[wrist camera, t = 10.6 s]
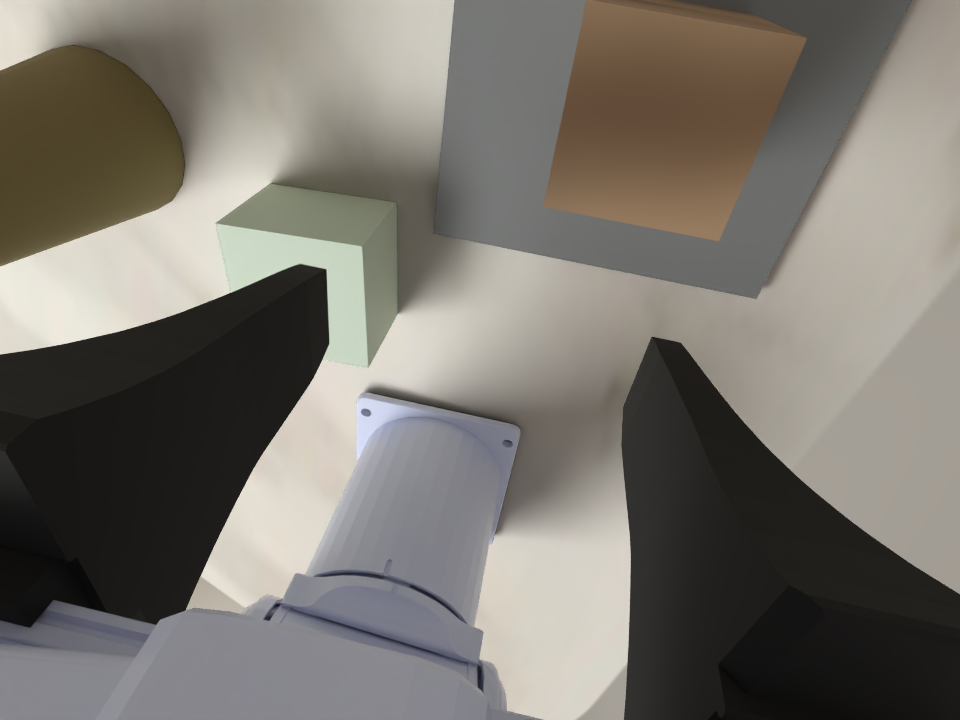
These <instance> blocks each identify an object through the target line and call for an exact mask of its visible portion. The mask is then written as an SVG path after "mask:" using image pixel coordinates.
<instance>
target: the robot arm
mask: <svg viewBox="0 0 960 720" xmlns="http://www.w3.org/2000/svg"><path fill="white" fill-rule="evenodd" d="M328 346H329V318H328V293H327V269H323V268H318V267H314V266H309V265H304V264H298V265H295V266H292V267H289V268H287V269H284V270H282V271H279V272H277V273H275V274H272V275H270V276H268V277H266V278H263V279H261V280H259V281H257V282H254V283H252V284H250V285H248V286H245V287H243V288H241V289H238V290H236V291H234V292H232V293H229V294H227V295H225V296H222V297H220V298H217V299H215V300H212V301H209V302H207V303H204V304H202V305H199V306H197V307H194V308H191V309H189V310H186V311H184V312H181V313H178V314H176V315H173V316H170V317H167V318H164V319H161V320H158V321H155V322H151V323H148V324H144V325H141V326H138V327H134V328H131V329H127V330H124V331H120V332H116V333H112V334H107V335H103V336H98V337H94V338H90V339H85V340H81V341H76V342H72V343H68V344H63V345H57V346H52V347H46V348H40V349H35V350H29V351H22V352H15V353H9V354H2V355H0V720H542V719H538V718H534V717H530V716H526V715H522V714H517V713H513V712H509V711H507V702H506V694H505V690H504V687H503V685H502V683H501V681H500V679H499V676H498V672H497V669H496V667H495V666H494V664H492V663H490V662H487V661H483V660H480V659H479V657H480V651H481V644H482V638H483V631H482V630H480V629H477V628H475V627H474V625H475V619H476V614H477V608H478V603H479V597H480V592H481V586H482V580H483V575H484V569H485V564H486V558H487V553H488V547H489V545H490V544H492V542H493V539H494V536H495V532H496V528H497V524H498V520H499V516H500V512H501V508H502V505H503V501H504V497H505V493H506V489H507V485H508V481H509V477H510V474H511V470H512V466H513V462H514V458H515V454H516V450H517V446H518V443H519V439H520V429H519V428H518V427H517V426H516V425H513V424H509V423H505V422H500V421H495V420H491V419H486V418H482V417H477V416H473V415H468V414H463V413H459V412H454V411H450V410H445V409H440V408H436V407H431V406H427V405H422V404H418V403H413V402H408V401H404V400H399V399H395V398H390V397H386V396H381V395H376V394H372V393H362V394H361V395H359V397H358V399H357V463H356V466H355V468H354V470H353V472H352V474H351V476H350V479H349V481H348V483H347V485H346V487H345V489H344V491H343V494H342V496H341V498H340V500H339V502H338V504H337V507H336V509H335V511H334V513H333V515H332V517H331V520H330V522H329V524H328V526H327V528H326V530H325V533H324V535H323V537H322V539H321V541H320V543H319V545H318V548H317V550H316V552H315V554H314V556H313V558H312V561H311V563H310V565H309V567H308V569H307V571H306V574H305V575H303V574H299V573H296V574H295V575H294V577H293V579H292V581H291V583H290V585H289V587H288V589H287V591H286V593H285V595H284V597H283V599H281V598H278V597H275V596H272V595H266V596H264V597H262V598H260V599H259V600H258V601H257V602H255V603H254V604H252V605H250V606H248V607H246V608H245V609H243V610H242V611H241V612H240V613H239V614H238V613H234V612H229V611H219V610H210V609H200V608H192V609H190V610H187V611H185V610H186V608H187V605H188V603H189V601H190V598H191V596H192V594H193V591H194V589H195V587H196V584H197V582H198V580H199V578H200V576H201V574H202V572H203V569H204V567H205V565H206V563H207V561H208V558H209V556H210V554H211V552H212V550H213V547H214V545H215V543H216V541H217V539H218V537H219V535H220V533H221V531H222V529H223V527H224V525H225V523H226V521H227V519H228V517H229V515H230V513H231V511H232V509H233V507H234V505H235V503H236V501H237V499H238V497H239V495H240V493H241V491H242V489H243V487H244V486H245V484H246V482H247V480H248V478H249V476H250V474H251V472H252V470H253V468H254V467H255V465H256V464H257V462H258V460H259V459H260V457H261V455H262V454H263V452H264V451H265V449H266V448H267V446H268V445H269V443H270V442H271V440H272V439H273V437H274V436H275V435H276V433H277V432H278V430H279V429H280V427H281V426H282V424H283V423H284V421H285V420H286V418H287V417H288V415H289V414H290V413H291V411H292V410H293V408H294V407H295V405H296V404H297V402H298V401H299V399H300V398H301V396H302V395H303V393H304V392H305V390H306V389H307V387H308V386H309V384H310V383H311V381H312V379H313V378H314V376H315V374H316V372H317V370H318V368H319V366H320V364H321V361H322V359H323V357H324V355H325V353H326V350H327V348H328ZM365 409H368V410H370V411H367V410H365ZM505 440H510V441H511V442H507V441H505ZM622 458H623V469H624V479H625V490H626V500H627V510H628V520H629V530H630V546H631V586H630V622H629V648H628V666H627V686H626V701H625V714H624V715H625V716H624V720H960V594H958V593H957V592H955V591H954V590H952V589H950V588H948V587H947V586H945V585H944V584H942V583H941V582H939V581H937V580H936V579H934V578H933V577H931V576H929V575H928V574H926V573H925V572H923V571H921V570H920V569H918V568H916V567H915V566H913V565H912V564H910V563H909V562H907V561H906V560H904V559H903V558H901V557H900V556H899V555H897V554H896V553H894V552H893V551H891V550H890V549H889V548H887V547H886V546H884V545H883V544H881V543H880V542H879V541H877V540H876V539H874V538H873V537H871V536H870V535H869V534H867V533H866V532H864V531H863V530H862V529H860V528H859V527H858V526H857V525H855V524H854V523H852V522H851V521H850V520H849V519H847V518H846V517H845V516H844V515H842V514H841V513H839V511H837V510H836V509H835V508H834V507H832V506H831V505H830V504H829V503H827V502H826V501H825V500H824V499H822V498H821V497H820V496H819V495H818V494H816V493H815V492H814V491H813V490H812V489H811V488H809V487H808V486H807V485H806V484H805V483H804V482H802V481H801V480H800V479H799V478H798V477H797V476H796V475H795V474H794V473H793V472H792V471H791V470H790V469H789V468H787V467H786V466H785V465H784V464H783V463H782V462H781V461H780V460H779V459H778V458H777V457H776V456H775V455H774V454H773V453H772V452H771V451H770V450H769V449H768V448H767V447H766V446H765V445H764V444H763V443H762V442H761V441H760V440H759V439H758V438H757V436H756V435H755V434H754V433H753V432H752V431H751V430H750V429H749V428H748V426H747V425H746V424H745V423H744V422H743V421H742V420H741V419H740V417H739V416H738V415H737V414H736V413H735V412H734V410H733V409H732V408H731V407H730V406H729V404H728V403H727V402H726V401H725V399H724V398H723V397H722V396H721V394H720V393H719V392H718V391H717V389H716V388H715V387H714V385H713V384H712V383H711V382H710V380H709V379H708V378H707V376H706V375H705V374H704V372H703V371H702V370H701V368H700V367H699V366H698V364H697V363H696V362H695V360H694V359H693V358H692V356H691V355H690V354H689V353H688V351H687V350H686V349H685V348H684V346H683V345H682V344H681V343H679V342H675V341H670V340H665V339H660V338H655V337H652V338H651V340H650V343H649V345H648V347H647V350H646V352H645V355H644V357H643V360H642V362H641V365H640V367H639V370H638V372H637V375H636V377H635V380H634V382H633V385H632V387H631V390H630V392H629V394H628V397H627V399H626V402H625V404H624V407H623V423H622Z"/></svg>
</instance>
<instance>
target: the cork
mask: <svg viewBox="0 0 960 720" xmlns="http://www.w3.org/2000/svg"><path fill="white" fill-rule="evenodd" d="M184 167H185V162H184V156H183V150H182V145H181V139H180V137H179V135H178V132H177V130H176V128H175V126H174V123H173V121H172V119H171V117H170V114H169V112H168V111H167V110H166V108H165V107H164V106H163V104H162V103H161V102H160V100H159V99H158V97H157V96H156V95H155V93H154V92H153V91H152V89H151V88H150V87H149V86H148V85H147V84H146V83H145V82H144V81H143V80H142V79H140V78H139V77H138V76H137V75H136V74H135V73H134V72H133V71H132V70H130V69H129V68H128V67H127V66H126V65H124V64H122V63H121V62H119V61H117V60H115V59H113V58H112V57H110V56H108V55H106V54H104V53H102V52H101V51H98V50H94V49H89V48H84V47H80V46H75V45H72V46H66V47H61V48H56V49H51V50H49V51H46V52H44V53H42V54H39V55H37V56H34V57H32V58H30V59H27V60H25V61H23V62H20V63H18V64H15V65H13V66H11V67H8V68H6V69H4V70H1V71H0V266H3V265H5V264H8V263H11V262H14V261H16V260H19V259H22V258H25V257H27V256H30V255H33V254H36V253H38V252H41V251H44V250H47V249H50V248H52V247H55V246H58V245H61V244H63V243H66V242H69V241H72V240H74V239H77V238H80V237H83V236H85V235H88V234H91V233H94V232H96V231H99V230H102V229H105V228H107V227H110V226H113V225H116V224H119V223H121V222H124V221H127V220H130V219H132V218H135V217H138V216H141V215H143V214H146V213H149V212H152V211H154V210H157V209H159V208H160V207H162V206H164V205H166V204H167V203H169V202H171V201H172V200H173V198H174V197H175V195H176V194H177V192H178V191H179V189H180V187H181V186H182V180H183V174H184Z"/></svg>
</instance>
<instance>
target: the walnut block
mask: <svg viewBox="0 0 960 720" xmlns="http://www.w3.org/2000/svg"><path fill="white" fill-rule="evenodd" d="M806 40H807V38H806V37H804V36H802V35H799V34H797V33H795V32H793V31H790V30H788V29H786V28H783V27H781V26H779V25H777V24H774V23H772V22H770V21H767V20H765V19H763V18H761V17H758V16H756V15H754V14H750V13H744V12H739V11H733V10H727V9H721V8H716V7H710V6H704V5H698V4H692V3H687V2H681V1H675V0H586V5H585V9H584V14H583V19H582V23H581V28H580V33H579V38H578V42H577V47H576V52H575V56H574V61H573V66H572V71H571V75H570V80H569V85H568V89H567V94H566V99H565V104H564V108H563V113H562V118H561V123H560V127H559V132H558V137H557V141H556V146H555V151H554V156H553V161H552V166H551V170H550V175H549V180H548V185H547V190H546V195H545V200H544V205H543V207H546V208H551V209H556V210H561V211H566V212H571V213H576V214H582V215H587V216H592V217H597V218H602V219H607V220H612V221H617V222H623V223H628V224H633V225H638V226H643V227H648V228H653V229H659V230H664V231H669V232H674V233H679V234H684V235H689V236H694V237H700V238H705V239H710V240H715V241H719V240H720V238H721V235H722V233H723V231H724V228H725V226H726V224H727V222H728V219H729V217H730V215H731V212H732V210H733V208H734V205H735V203H736V201H737V199H738V196H739V194H740V192H741V189H742V187H743V185H744V182H745V180H746V178H747V176H748V173H749V171H750V169H751V166H752V164H753V162H754V159H755V157H756V155H757V153H758V150H759V148H760V146H761V143H762V141H763V139H764V136H765V134H766V132H767V130H768V127H769V125H770V123H771V120H772V118H773V116H774V114H775V111H776V109H777V107H778V104H779V102H780V100H781V97H782V95H783V93H784V91H785V88H786V86H787V84H788V81H789V79H790V77H791V74H792V72H793V70H794V68H795V65H796V63H797V61H798V58H799V56H800V54H801V51H802V49H803V47H804V45H805V42H806Z"/></svg>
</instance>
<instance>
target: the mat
mask: <svg viewBox="0 0 960 720" xmlns="http://www.w3.org/2000/svg"><path fill="white" fill-rule="evenodd" d="M675 1H681V2H687V3H692V4H698V5H704V6H710V7H716V8H721V9H727V10H733V11H739V12H744V13H750V14H754V15H756V16H758V17H761V18H763V19H765V20H767V21H770V22H772V23H774V24H777V25H779V26H781V27H783V28H786V29H788V30H790V31H793V32H795V33H797V34H799V35H802V36H804V37H806V38H807V40H806V42H805V45H804V47H803V49H802V51H801V54H800V56H799V58H798V61H797V63H796V65H795V68H794V70H793V72H792V74H791V77H790V79H789V81H788V84H787V86H786V88H785V91H784V93H783V95H782V97H781V100H780V102H779V104H778V107H777V109H776V111H775V114H774V116H773V118H772V120H771V123H770V125H769V127H768V130H767V132H766V134H765V136H764V139H763V141H762V143H761V146H760V148H759V150H758V153H757V155H756V157H755V159H754V162H753V164H752V166H751V169H750V171H749V173H748V176H747V178H746V180H745V182H744V185H743V187H742V189H741V192H740V194H739V196H738V199H737V201H736V203H735V205H734V208H733V210H732V212H731V215H730V217H729V219H728V222H727V224H726V226H725V228H724V231H723V233H722V235H721V238H720V240H719V241H715V240H710V239H705V238H700V237H694V236H689V235H684V234H679V233H674V232H669V231H664V230H659V229H653V228H648V227H643V226H638V225H633V224H628V223H623V222H617V221H612V220H607V219H602V218H597V217H592V216H587V215H582V214H576V213H571V212H566V211H561V210H556V209H551V208H546V207H543V205H544V200H545V195H546V190H547V185H548V180H549V175H550V170H551V166H552V161H553V156H554V151H555V146H556V141H557V137H558V132H559V127H560V123H561V118H562V113H563V108H564V104H565V99H566V94H567V89H568V85H569V80H570V75H571V71H572V66H573V61H574V56H575V52H576V47H577V42H578V38H579V33H580V28H581V23H582V19H583V14H584V9H585V5H586V0H455V2H454V13H453V24H452V35H451V46H450V57H449V68H448V79H447V90H446V101H445V112H444V123H443V134H442V145H441V156H440V167H439V178H438V189H437V200H436V211H435V222H434V234H439V235H444V236H449V237H454V238H459V239H464V240H469V241H473V242H478V243H483V244H488V245H493V246H498V247H503V248H508V249H513V250H518V251H523V252H528V253H533V254H538V255H543V256H548V257H553V258H557V259H562V260H567V261H572V262H577V263H582V264H587V265H592V266H597V267H602V268H607V269H612V270H617V271H622V272H627V273H632V274H637V275H641V276H646V277H651V278H656V279H661V280H666V281H671V282H676V283H681V284H686V285H691V286H696V287H701V288H706V289H711V290H716V291H720V292H725V293H730V294H735V295H740V296H745V297H750V298H755V299H757V297H758V295H759V293H760V291H761V289H762V287H763V285H764V283H765V281H766V279H767V277H768V276H769V274H770V272H771V270H772V268H773V266H774V264H775V262H776V260H777V258H778V256H779V254H780V253H781V251H782V249H783V247H784V245H785V243H786V241H787V239H788V237H789V235H790V233H791V231H792V229H793V228H794V226H795V224H796V222H797V220H798V218H799V216H800V214H801V212H802V210H803V208H804V206H805V205H806V203H807V201H808V199H809V197H810V195H811V193H812V191H813V189H814V187H815V185H816V183H817V181H818V180H819V178H820V176H821V174H822V172H823V170H824V168H825V166H826V164H827V162H828V160H829V158H830V157H831V155H832V153H833V151H834V149H835V147H836V145H837V143H838V141H839V139H840V137H841V135H842V133H843V132H844V130H845V128H846V126H847V124H848V122H849V120H850V118H851V116H852V114H853V112H854V110H855V108H856V107H857V105H858V103H859V101H860V99H861V97H862V95H863V93H864V91H865V89H866V87H867V85H868V84H869V82H870V80H871V78H872V76H873V74H874V72H875V70H876V68H877V66H878V64H879V62H880V60H881V59H882V57H883V55H884V53H885V51H886V49H887V47H888V45H889V43H890V41H891V39H892V37H893V36H894V34H895V32H896V30H897V28H898V26H899V24H900V22H901V20H902V18H903V16H904V14H905V12H906V11H907V9H908V7H909V5H910V3H911V1H912V0H675Z"/></svg>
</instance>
